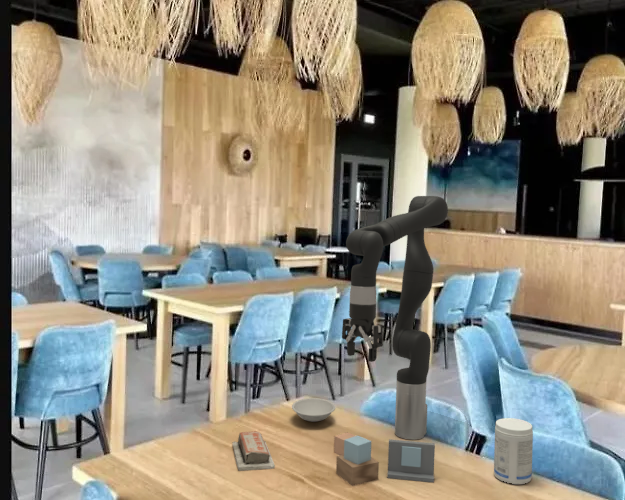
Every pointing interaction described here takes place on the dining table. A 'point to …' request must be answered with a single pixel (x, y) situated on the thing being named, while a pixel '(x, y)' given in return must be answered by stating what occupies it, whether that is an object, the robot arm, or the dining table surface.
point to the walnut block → (357, 470)
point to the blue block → (357, 449)
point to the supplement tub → (513, 450)
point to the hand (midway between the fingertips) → (361, 358)
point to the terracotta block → (341, 442)
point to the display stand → (411, 460)
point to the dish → (313, 409)
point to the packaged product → (252, 452)
